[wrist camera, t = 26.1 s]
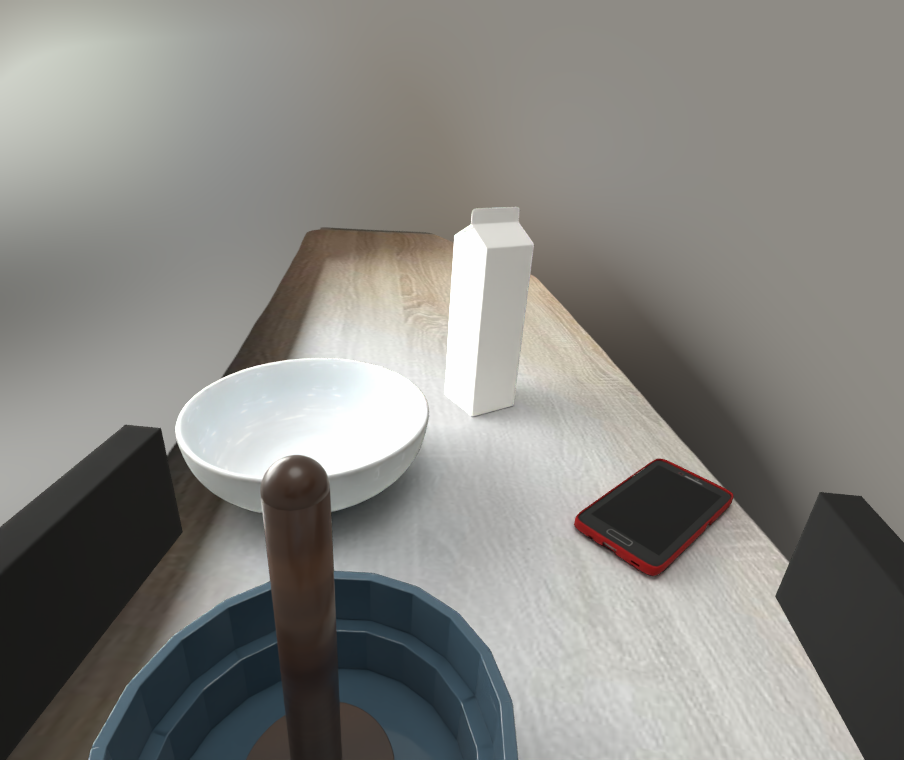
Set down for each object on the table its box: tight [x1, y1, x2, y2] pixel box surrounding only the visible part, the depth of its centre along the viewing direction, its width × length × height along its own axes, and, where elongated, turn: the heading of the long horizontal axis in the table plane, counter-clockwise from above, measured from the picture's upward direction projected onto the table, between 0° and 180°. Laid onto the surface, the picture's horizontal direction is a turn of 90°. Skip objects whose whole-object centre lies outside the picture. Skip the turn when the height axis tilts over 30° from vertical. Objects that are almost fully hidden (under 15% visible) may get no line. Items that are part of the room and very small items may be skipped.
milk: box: [444, 207, 534, 417], centre depth 61 cm, size 6×6×22 cm
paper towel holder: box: [246, 455, 394, 760], centre depth 22 cm, size 7×7×20 cm
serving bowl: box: [175, 358, 429, 513], centre depth 49 cm, size 21×21×7 cm
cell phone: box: [574, 459, 733, 576], centre depth 48 cm, size 8×15×1 cm, turn 133°
